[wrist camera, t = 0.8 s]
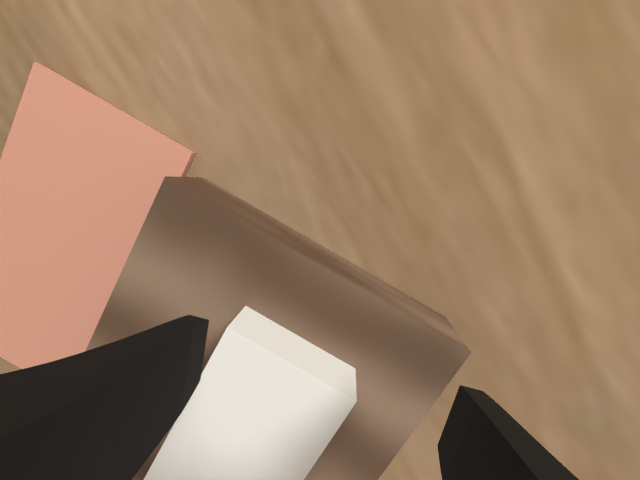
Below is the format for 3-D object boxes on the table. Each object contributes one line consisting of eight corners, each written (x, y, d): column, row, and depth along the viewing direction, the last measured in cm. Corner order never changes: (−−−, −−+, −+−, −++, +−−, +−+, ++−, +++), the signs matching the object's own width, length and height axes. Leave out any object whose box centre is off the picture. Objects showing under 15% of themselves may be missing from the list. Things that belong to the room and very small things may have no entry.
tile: (267, 502, 17) (254, 552, 15) (168, 445, 17) (139, 486, 15) (355, 368, 16) (356, 401, 13) (245, 305, 16) (227, 327, 13)
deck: (310, 511, 22) (301, 583, 18) (100, 392, 22) (45, 438, 18) (445, 317, 19) (471, 352, 15) (203, 177, 19) (164, 176, 15)
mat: (81, 396, 22) (76, 400, 22) (-50, 321, 22) (-57, 324, 21) (195, 153, 19) (192, 152, 18) (40, 64, 19) (34, 61, 18)
